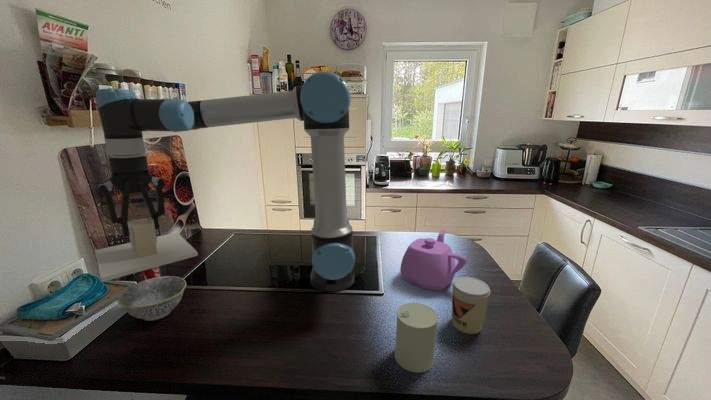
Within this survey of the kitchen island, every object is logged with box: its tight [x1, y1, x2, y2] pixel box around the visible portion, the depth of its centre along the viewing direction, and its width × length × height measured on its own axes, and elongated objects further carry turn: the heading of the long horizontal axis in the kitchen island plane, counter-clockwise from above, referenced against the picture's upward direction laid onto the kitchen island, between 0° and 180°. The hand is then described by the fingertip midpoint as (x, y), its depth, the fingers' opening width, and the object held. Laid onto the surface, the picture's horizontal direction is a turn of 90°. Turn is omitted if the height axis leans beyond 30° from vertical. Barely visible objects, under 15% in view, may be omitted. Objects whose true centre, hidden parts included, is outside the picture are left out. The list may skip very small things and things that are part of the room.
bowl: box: [116, 275, 187, 322], centre depth 84 cm, size 16×16×8 cm
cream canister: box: [451, 276, 491, 335], centre depth 80 cm, size 9×9×12 cm
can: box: [394, 302, 439, 374], centre depth 68 cm, size 9×9×12 cm
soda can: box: [140, 266, 162, 282], centre depth 97 cm, size 5×5×12 cm
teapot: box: [399, 230, 467, 291], centre depth 103 cm, size 23×21×15 cm
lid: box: [94, 217, 199, 283], centre depth 79 cm, size 20×20×9 cm
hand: (144, 243), depth 80 cm, fingers closed on lid, 4 cm apart
